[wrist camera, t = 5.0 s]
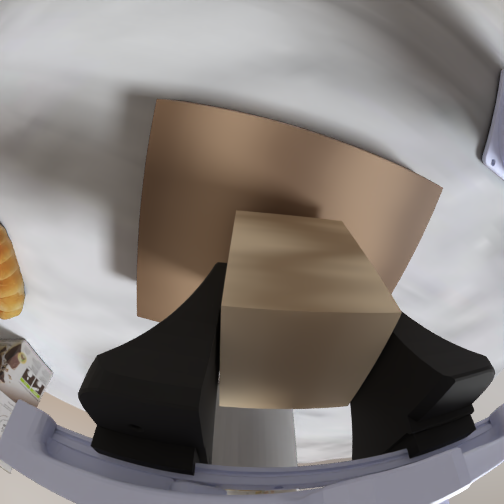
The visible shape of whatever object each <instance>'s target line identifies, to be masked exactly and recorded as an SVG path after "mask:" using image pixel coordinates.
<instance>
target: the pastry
mask: <svg viewBox="0 0 504 504" xmlns="http://www.w3.org/2000/svg"><path fill="white" fill-rule="evenodd" d="M24 299H25V294H24V282H23V279H22V275H21V273H20V268H19V265H18V262H17V259H16V255H15V252H14V249H13V245H12V242H11V241H10V239H9V238H8V235H7V233H6V230H5V228H4V227H2V226H1V224H0V318H1V319H10V318H12V317H15V316H18V315H19V314H20V313H21V311H22V308H23V304H24Z"/></svg>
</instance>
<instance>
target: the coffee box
mask: <svg viewBox="0 0 504 504" xmlns="http://www.w3.org/2000/svg"><path fill="white" fill-rule="evenodd" d="M52 376H53V372H52V371H51V370H50V369H49V368H48V367H47V366H46V365H45V363H44V362H43V361H42V360H41V359H40V358H39V356H38V355H37V354H36V353H35V351H34V350H33V349H32V348H31V346H30V345H29V344H28V342H27V341H26V340H24V339H0V439H1V436H2V434H3V431H4V429H5V427H6V424H7V422H8V420H9V418H10V415H11V413H12V411H13V409H14V407H15V405H16V403H17V401H18V400H22V401H24V402H26V403H28V404H30V405H32V406H34V407H36V408H37V406H38V403H39V402H40V399H41V397H42V395H43V393H44V391H45V389H46V387H47V385H48V383H49V381H50V380H51V378H52ZM0 467H1V468H3V469H4V470H6V471H7V472H9V473H11V470H12V467H11V466H9V465H8V464H6V463H5V462H4V461H2V460H1V459H0Z"/></svg>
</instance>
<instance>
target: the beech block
mask: <svg viewBox="0 0 504 504" xmlns="http://www.w3.org/2000/svg"><path fill="white" fill-rule="evenodd" d="M401 314H402V312H401V310H400V309H399V307H398V305H397V304H396V302H395V300H394V299H393V297H392V295H391V294H390V292H389V290H388V289H387V287H386V286H385V284H384V282H383V281H382V279H381V278H380V276H379V275H378V273H377V272H376V270H375V268H374V267H373V265H372V264H371V262H370V261H369V259H368V258H367V256H366V255H365V253H364V252H363V250H362V249H361V248H360V246H359V245H358V243H357V242H356V240H355V239H354V237H353V236H352V235H351V233H350V232H349V230H348V229H347V228H346V226H345V225H344V223H343V222H342V221H337V220H329V219H320V218H311V217H302V216H292V215H282V214H272V213H261V212H249V211H237V210H236V214H235V220H234V226H233V233H232V239H231V245H230V251H229V258H228V264H227V270H226V277H225V284H224V290H223V297H222V304H221V330H220V389H219V406H224V407H238V408H257V409H310V408H329V407H343V406H348V405H349V403H350V402H351V400H352V399H353V397H354V396H355V394H356V393H357V391H358V390H359V388H360V387H361V385H362V384H363V382H364V381H365V379H366V377H367V376H368V374H369V372H370V371H371V369H372V367H373V366H374V364H375V362H376V361H377V359H378V357H379V356H380V354H381V352H382V350H383V348H384V347H385V345H386V343H387V341H388V339H389V337H390V335H391V334H392V332H393V330H394V328H395V326H396V324H397V322H398V320H399V318H400V316H401Z"/></svg>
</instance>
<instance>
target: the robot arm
mask: <svg viewBox="0 0 504 504" xmlns="http://www.w3.org/2000/svg"><path fill="white" fill-rule="evenodd" d="M482 161H483V163H484V165H486V166H487V167H488V168H489V169H491V170H492V171H493V172H494V173H496V174H497V175H498V176H499V177H500V178H502V179H503V180H504V70H501V75H500V82H499V89H498V95H497V100H496V105H495V110H494V115H493V119H492V123H491V128H490V132H489V135H488V139H487V143H486V146H485V150H484V153H483V157H482ZM491 161H492V163H491ZM227 264H228V263H223V262H217V263H216V264H215V265H214V267H213V269H212V270H211V271H210V273H209V274H208V276H207V277H206V278H205V280H204V281H203V282H202V283H201V284H200V286H199V287H198V288H197V289H196V290H195V291H194V292H193V293H192V295H191V296H190V297H189V298H188V299H187V300H186V301H185V302H184V303H183V304H182V305H181V306H180V307H178V308H177V309H176V310H175V311H174V312H173V313H172V314H170V315H169V316H168V317H167V318H165V319H164V320H163V321H161V322H160V323H159V324H157V325H156V326H154V327H153V328H151V329H150V330H148V331H147V332H145V333H144V334H142V335H140V336H138V337H137V338H135V339H133V340H131V341H129V342H127V343H125V344H123V345H121V346H119V347H116V348H114V349H112V350H109V351H107V352H104V353H102V354H99V355H97V357H96V358H95V360H94V362H93V363H92V365H91V366H90V368H89V370H88V372H87V374H86V376H85V379H84V381H83V383H82V385H81V388H80V390H79V392H78V398H79V400H80V402H81V404H82V406H83V408H84V409H85V410H86V412H87V413H88V414H89V415H90V417H91V418H92V419H93V421H94V422H95V423H96V424H97V427H96V430H95V433H94V436H93V438H90V437H87V436H84V435H82V434H79V433H76V432H74V431H71V430H69V429H66V428H63V427H61V426H59V425H57V424H56V422H55V421H54V420H53V419H52V418H51V417H50V416H49V415H48V414H46V413H45V412H44V411H42V410H40V409H38V408H36V407H34V406H32V405H30V404H28V403H26V402H24V401H22V400H18V401H17V403H16V405H15V407H14V409H13V411H12V413H11V415H10V418H9V420H8V422H7V424H6V427H5V429H4V431H3V434H2V436H1V439H0V459H1V460H2V461H4V462H5V463H6V464H8V465H9V466H11V467H12V468H14V469H15V470H17V471H18V472H20V473H22V474H23V475H25V476H26V477H28V478H30V479H31V480H33V481H34V482H36V483H38V484H39V485H41V486H43V487H45V488H47V489H49V490H50V491H52V492H54V493H56V494H58V495H60V496H62V497H64V498H66V499H68V500H70V501H72V502H75V503H76V504H449V498H451V497H453V496H455V495H456V494H458V493H460V492H462V491H464V490H465V489H467V488H468V487H469V486H470V484H471V483H472V482H474V481H476V480H477V479H479V478H480V477H482V476H483V475H485V474H487V473H488V472H489V471H491V470H492V469H494V468H495V467H496V466H498V465H499V464H501V463H502V462H504V404H502V405H501V406H499V407H498V408H497V409H496V410H495V411H494V412H493V413H492V414H491V415H490V416H489V417H488V418H486V419H484V420H481V421H479V422H477V423H475V424H474V422H473V420H472V417H471V415H470V414H472V413H473V412H474V408H473V406H472V403H473V402H474V401H475V400H476V399H477V398H478V397H479V396H480V395H481V394H482V393H483V391H485V390H486V388H487V387H488V386H489V385H490V383H491V382H492V380H493V378H494V375H495V370H494V368H493V366H492V365H491V363H490V361H489V360H488V358H487V357H486V356H484V355H481V354H478V353H475V352H472V351H469V350H467V349H464V348H462V347H460V346H458V345H455V344H453V343H451V342H449V341H447V340H445V339H443V338H441V337H440V336H438V335H436V334H434V333H432V332H431V331H429V330H427V329H426V328H424V327H423V326H421V325H420V324H418V323H417V322H415V321H414V320H412V319H411V318H410V317H408V316H407V315H406V314H404V313H403V312H402V311H401V312H402V314H401V316H400V318H399V320H398V322H397V324H396V326H395V328H394V330H393V332H392V334H391V335H390V337H389V339H388V341H387V343H386V345H385V347H384V348H383V350H382V352H381V354H380V356H379V357H378V359H377V361H376V362H375V364H374V366H373V367H372V369H371V371H370V372H369V374H368V376H367V377H366V379H365V381H364V382H363V384H362V385H361V387H360V388H359V390H358V391H357V393H356V394H355V396H354V397H353V399H352V400H351V402H350V405H351V416H352V438H353V439H352V460H351V461H345V462H338V463H330V464H321V465H311V466H296V467H236V466H221V465H212V452H213V436H214V423H215V410H216V398H217V387H218V377H219V371H220V330H221V304H222V297H223V290H224V284H225V277H226V270H227ZM323 486H325V487H323ZM315 487H323V488H319V489H311V490H303V491H295V492H286V493H274V494H257V495H227V491H226V490H224V489H231V490H291V489H305V488H315Z"/></svg>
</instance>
